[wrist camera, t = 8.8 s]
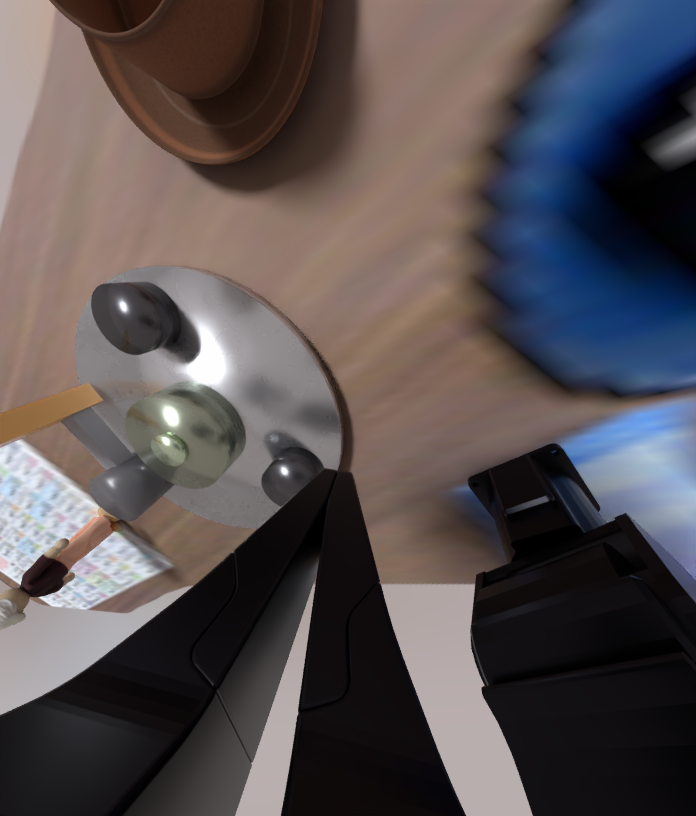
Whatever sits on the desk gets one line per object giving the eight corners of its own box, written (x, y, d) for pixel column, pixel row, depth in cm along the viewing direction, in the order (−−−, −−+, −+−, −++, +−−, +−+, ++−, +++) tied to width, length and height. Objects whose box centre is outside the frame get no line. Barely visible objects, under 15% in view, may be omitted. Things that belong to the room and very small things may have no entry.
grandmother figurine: (91, 494, 35) (-63, 602, 23) (118, 504, 34) (-26, 617, 23) (106, 534, 38) (-20, 643, 27) (131, 543, 38) (12, 657, 27)
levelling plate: (405, 458, 22) (401, 505, 17) (233, 544, 32) (204, 587, 28) (169, 173, 17) (81, 139, 12) (56, 387, 27) (-13, 410, 23)
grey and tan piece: (184, 483, 27) (97, 564, 20) (154, 493, 29) (64, 570, 21) (95, 377, 23) (-52, 428, 16) (68, 396, 25) (-76, 449, 18)
